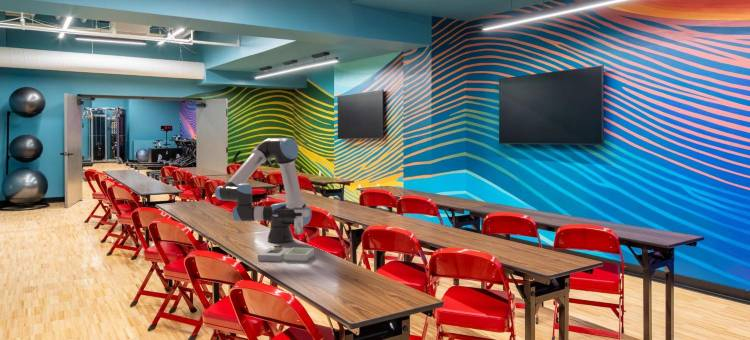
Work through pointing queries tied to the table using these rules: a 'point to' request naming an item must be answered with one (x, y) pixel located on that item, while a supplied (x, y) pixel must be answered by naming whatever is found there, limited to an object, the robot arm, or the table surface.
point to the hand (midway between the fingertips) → (308, 213)
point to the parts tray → (299, 255)
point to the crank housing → (273, 254)
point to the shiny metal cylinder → (298, 221)
